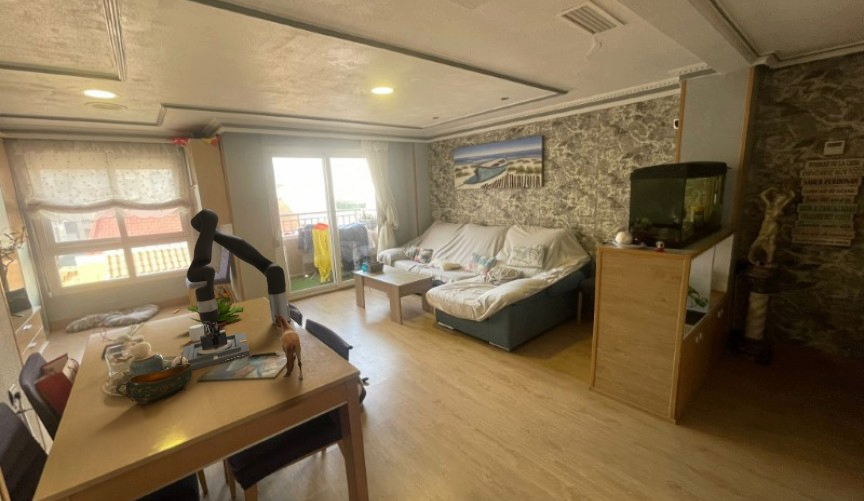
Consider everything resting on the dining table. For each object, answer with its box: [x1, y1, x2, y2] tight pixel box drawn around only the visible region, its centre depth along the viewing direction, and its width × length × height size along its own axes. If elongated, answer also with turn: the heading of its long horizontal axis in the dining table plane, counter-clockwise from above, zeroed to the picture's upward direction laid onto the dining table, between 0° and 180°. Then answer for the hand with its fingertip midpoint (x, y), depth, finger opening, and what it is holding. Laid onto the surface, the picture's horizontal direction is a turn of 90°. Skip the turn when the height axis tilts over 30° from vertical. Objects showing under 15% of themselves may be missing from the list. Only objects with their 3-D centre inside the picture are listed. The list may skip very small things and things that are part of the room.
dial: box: [197, 329, 232, 355], centre depth 162 cm, size 14×14×7 cm
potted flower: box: [186, 292, 245, 327], centre depth 198 cm, size 25×24×18 cm
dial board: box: [181, 331, 250, 370], centre depth 163 cm, size 26×26×4 cm
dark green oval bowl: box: [115, 364, 193, 406], centre depth 129 cm, size 13×20×10 cm, turn 109°
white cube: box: [187, 323, 205, 342], centre depth 180 cm, size 7×7×7 cm
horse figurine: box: [274, 314, 304, 379], centre depth 140 cm, size 31×8×21 cm, turn 26°
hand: (214, 343), depth 162 cm, fingers closed on dial, 3 cm apart
